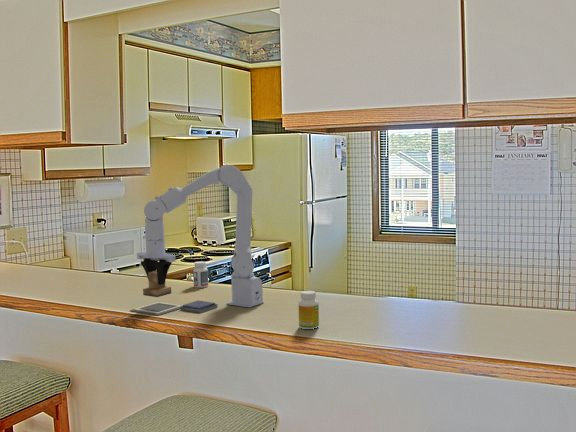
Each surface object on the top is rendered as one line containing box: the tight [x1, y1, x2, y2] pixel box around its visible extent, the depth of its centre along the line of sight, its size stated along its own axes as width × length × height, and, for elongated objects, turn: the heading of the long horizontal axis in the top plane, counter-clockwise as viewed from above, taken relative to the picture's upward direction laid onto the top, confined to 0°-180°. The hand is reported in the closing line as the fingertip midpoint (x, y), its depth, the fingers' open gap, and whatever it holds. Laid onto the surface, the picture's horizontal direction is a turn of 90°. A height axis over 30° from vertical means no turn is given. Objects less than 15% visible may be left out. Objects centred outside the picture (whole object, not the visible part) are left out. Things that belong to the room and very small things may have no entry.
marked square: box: [129, 301, 183, 317], centre depth 196 cm, size 12×12×1 cm
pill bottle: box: [192, 260, 209, 289], centre depth 229 cm, size 5×5×9 cm
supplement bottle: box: [298, 290, 320, 330], centre depth 171 cm, size 5×5×10 cm
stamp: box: [142, 270, 172, 298], centre depth 195 cm, size 6×6×7 cm
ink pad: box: [180, 299, 218, 314], centre depth 195 cm, size 8×8×2 cm
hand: (157, 283), depth 195 cm, fingers closed on stamp, 3 cm apart
